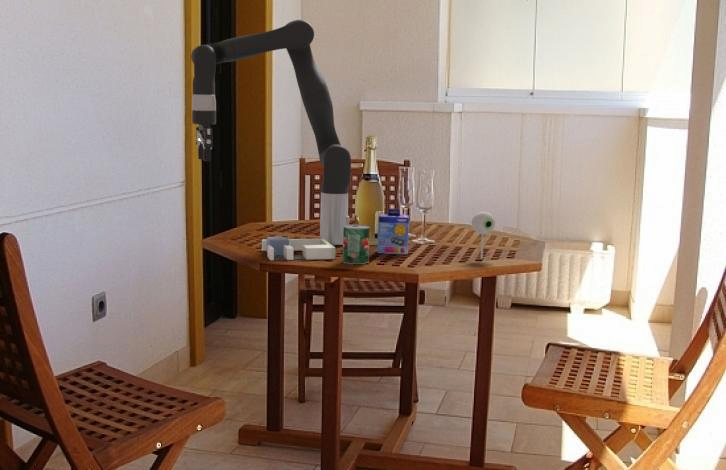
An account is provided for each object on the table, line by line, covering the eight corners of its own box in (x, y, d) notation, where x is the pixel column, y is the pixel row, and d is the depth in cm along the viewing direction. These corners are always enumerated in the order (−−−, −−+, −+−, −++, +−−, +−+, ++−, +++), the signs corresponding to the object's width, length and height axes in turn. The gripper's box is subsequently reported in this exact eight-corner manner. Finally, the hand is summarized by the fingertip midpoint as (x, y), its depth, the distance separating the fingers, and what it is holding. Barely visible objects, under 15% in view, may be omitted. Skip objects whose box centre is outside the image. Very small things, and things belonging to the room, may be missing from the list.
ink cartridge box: (376, 253, 294) (378, 208, 292) (377, 250, 300) (378, 206, 297) (407, 254, 294) (409, 209, 291) (407, 251, 299) (409, 207, 297)
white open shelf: (323, 249, 299) (323, 238, 299) (335, 258, 283) (335, 247, 282) (261, 250, 294) (262, 239, 294) (270, 260, 278) (270, 248, 277)
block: (285, 252, 293) (285, 236, 292) (288, 255, 287) (289, 239, 286) (266, 252, 291) (266, 237, 291) (269, 256, 286) (269, 240, 285)
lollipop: (477, 261, 285) (479, 213, 283) (465, 257, 291) (468, 210, 289) (497, 260, 288) (499, 212, 285) (485, 256, 294) (487, 209, 292)
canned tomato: (372, 264, 276) (373, 227, 274) (346, 265, 273) (347, 228, 272) (364, 259, 283) (365, 224, 281) (339, 260, 281) (340, 224, 279)
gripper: (220, 109, 287) (221, 161, 290) (210, 108, 300) (211, 158, 303) (196, 109, 285) (197, 162, 287) (187, 108, 298) (188, 158, 300)
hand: (204, 160), depth 295 cm, fingers open, 8 cm apart
